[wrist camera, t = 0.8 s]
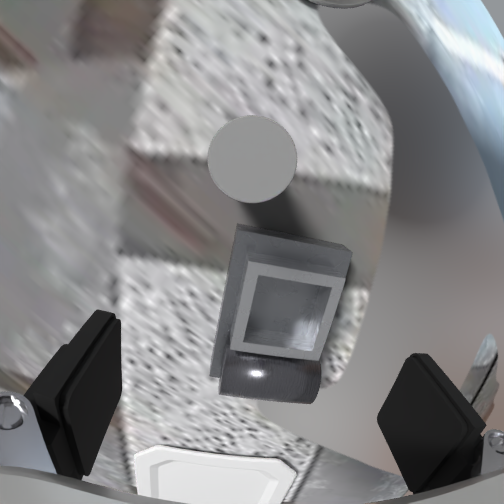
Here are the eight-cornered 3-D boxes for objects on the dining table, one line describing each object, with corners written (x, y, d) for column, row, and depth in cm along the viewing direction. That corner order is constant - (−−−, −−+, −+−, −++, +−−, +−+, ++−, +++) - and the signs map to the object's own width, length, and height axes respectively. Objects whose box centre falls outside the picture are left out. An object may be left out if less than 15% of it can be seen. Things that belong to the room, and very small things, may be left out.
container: (279, 164, 30) (318, 166, 16) (241, 195, 31) (247, 225, 16) (247, 127, 29) (258, 94, 15) (209, 159, 30) (185, 154, 15)
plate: (266, 519, 48) (267, 527, 45) (141, 504, 45) (140, 513, 43) (302, 451, 41) (304, 461, 39) (134, 431, 39) (131, 441, 37)
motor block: (237, 223, 31) (237, 243, 24) (342, 244, 33) (372, 269, 25) (211, 360, 35) (206, 406, 28) (303, 372, 37) (317, 417, 29)
